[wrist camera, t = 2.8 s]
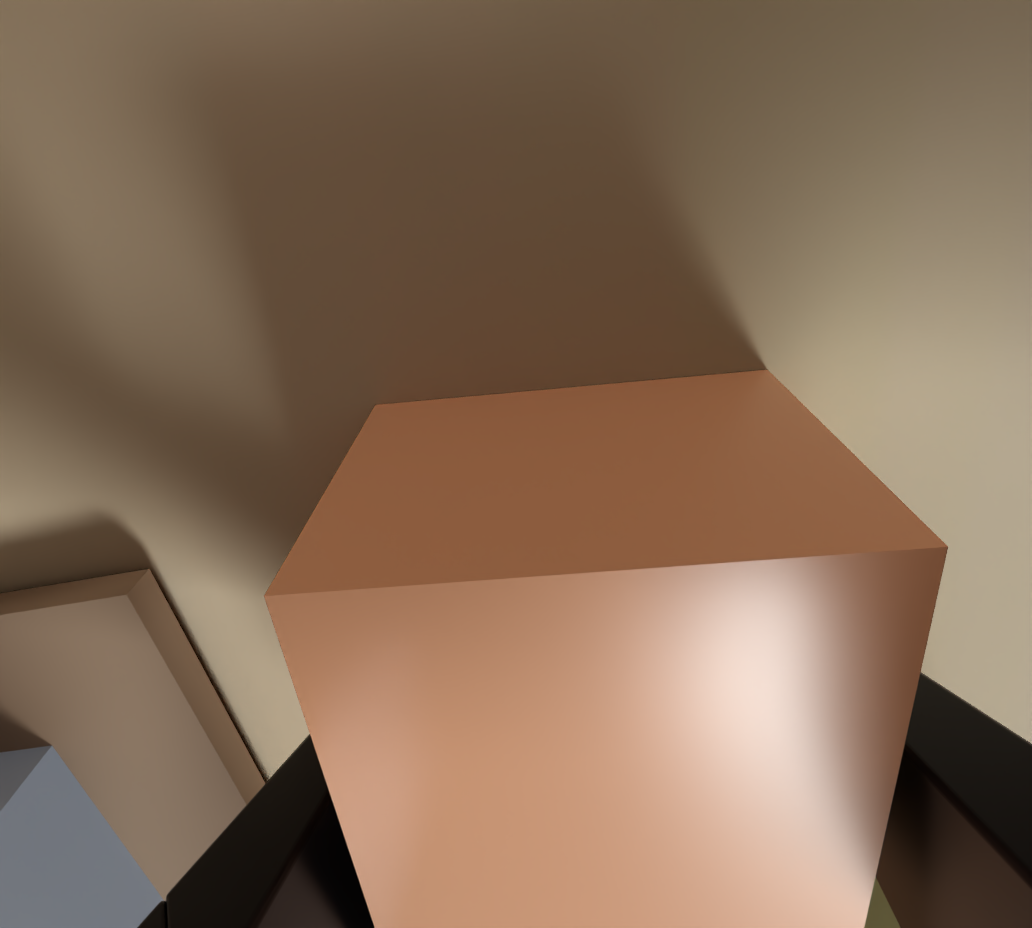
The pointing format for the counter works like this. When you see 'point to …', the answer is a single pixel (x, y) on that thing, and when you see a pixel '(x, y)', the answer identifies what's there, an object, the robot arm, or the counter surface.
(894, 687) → the terracotta brick
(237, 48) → the counter surface
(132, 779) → the walnut board
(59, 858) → the base brick
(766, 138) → the counter surface
